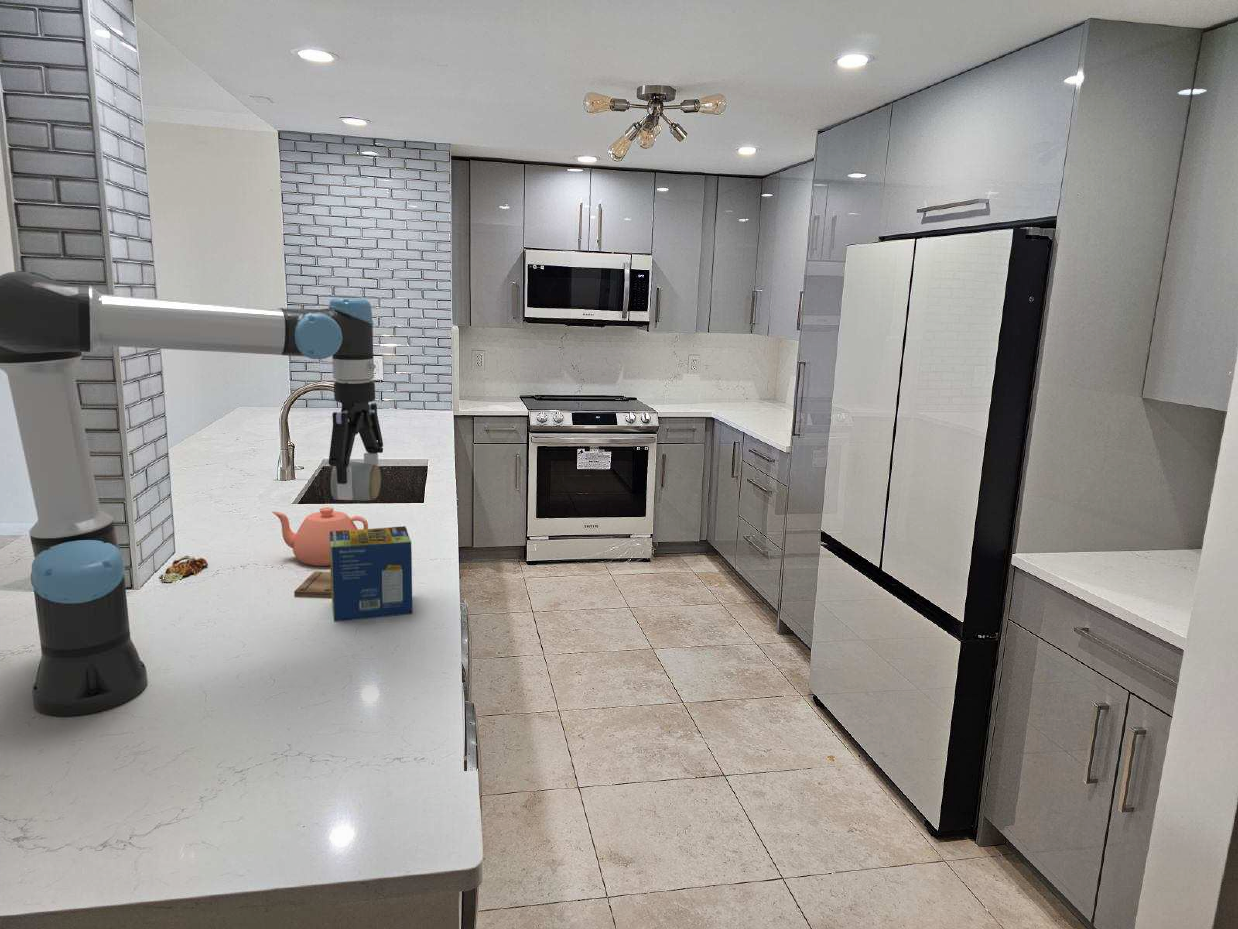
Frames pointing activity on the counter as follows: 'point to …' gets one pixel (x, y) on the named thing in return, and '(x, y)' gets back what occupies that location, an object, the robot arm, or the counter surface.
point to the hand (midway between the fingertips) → (359, 491)
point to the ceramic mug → (360, 481)
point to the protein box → (371, 573)
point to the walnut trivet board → (315, 586)
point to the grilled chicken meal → (183, 568)
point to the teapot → (316, 534)
